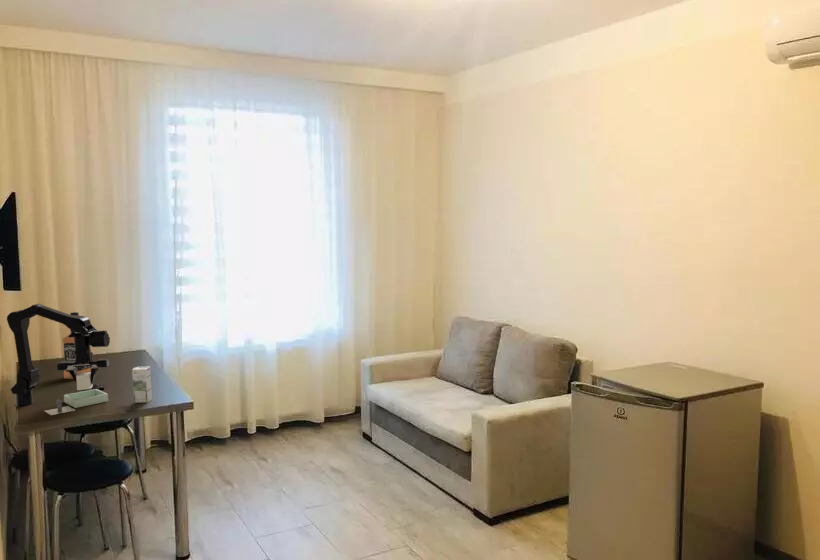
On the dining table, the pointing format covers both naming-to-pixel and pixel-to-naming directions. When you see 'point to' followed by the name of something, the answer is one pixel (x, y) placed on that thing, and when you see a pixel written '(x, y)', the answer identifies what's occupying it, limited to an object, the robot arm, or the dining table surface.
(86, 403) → the parts bin
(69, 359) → the whiskey bottle
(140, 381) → the syrup box
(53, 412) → the mount plate
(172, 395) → the dining table surface
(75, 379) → the robot arm
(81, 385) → the block
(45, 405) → the dining table surface
